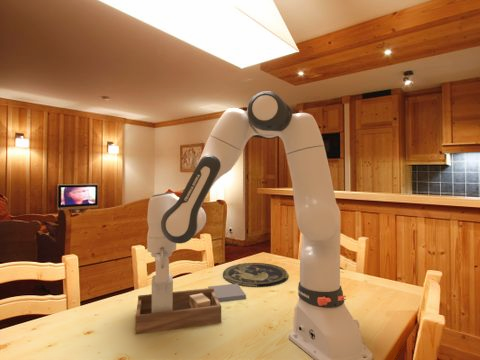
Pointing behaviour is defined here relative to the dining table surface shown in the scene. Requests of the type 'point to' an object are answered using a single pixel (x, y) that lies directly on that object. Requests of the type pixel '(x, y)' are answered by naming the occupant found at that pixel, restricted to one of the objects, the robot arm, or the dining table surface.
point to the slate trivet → (228, 292)
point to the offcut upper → (199, 301)
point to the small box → (162, 296)
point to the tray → (177, 312)
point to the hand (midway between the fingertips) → (161, 288)
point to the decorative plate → (255, 275)
